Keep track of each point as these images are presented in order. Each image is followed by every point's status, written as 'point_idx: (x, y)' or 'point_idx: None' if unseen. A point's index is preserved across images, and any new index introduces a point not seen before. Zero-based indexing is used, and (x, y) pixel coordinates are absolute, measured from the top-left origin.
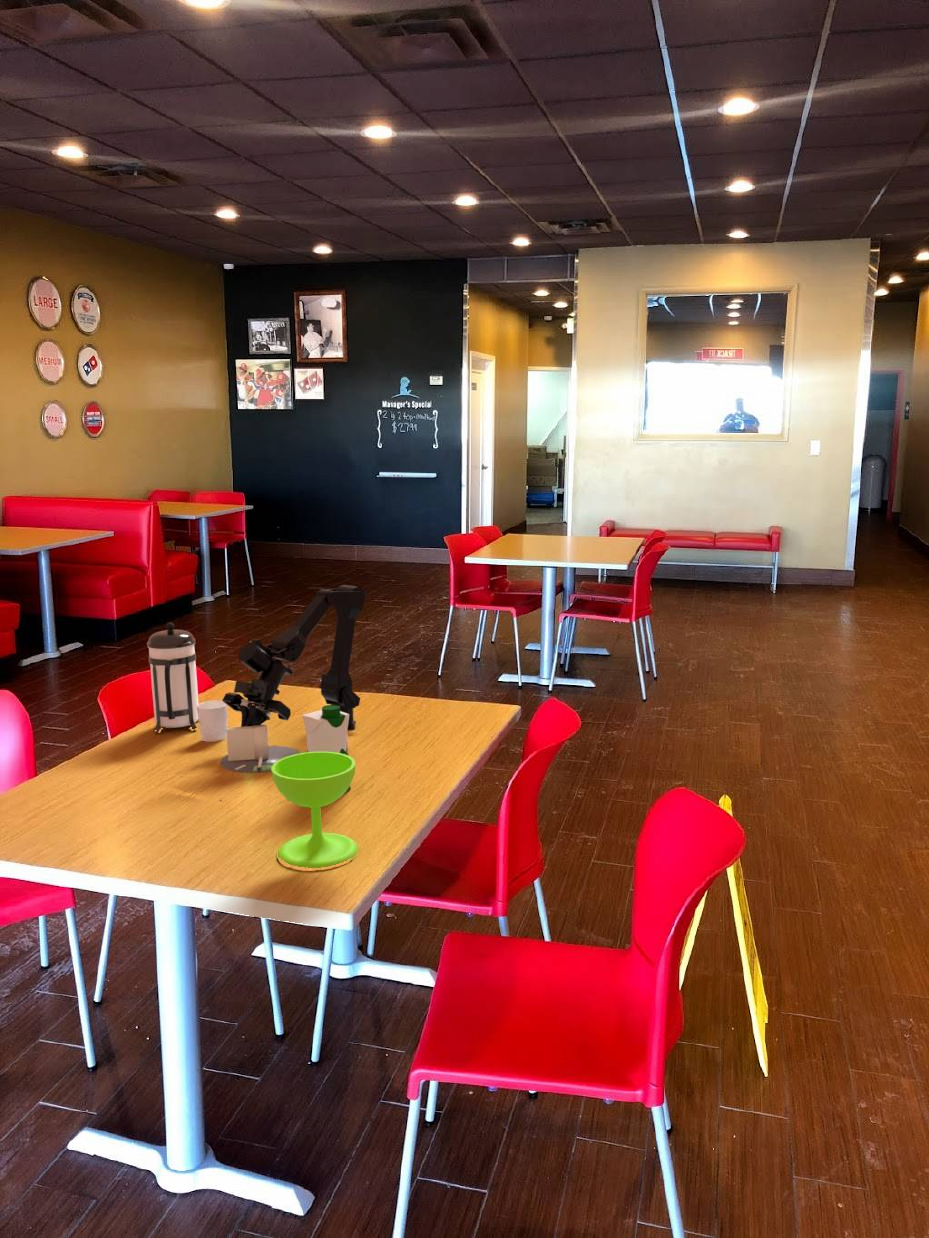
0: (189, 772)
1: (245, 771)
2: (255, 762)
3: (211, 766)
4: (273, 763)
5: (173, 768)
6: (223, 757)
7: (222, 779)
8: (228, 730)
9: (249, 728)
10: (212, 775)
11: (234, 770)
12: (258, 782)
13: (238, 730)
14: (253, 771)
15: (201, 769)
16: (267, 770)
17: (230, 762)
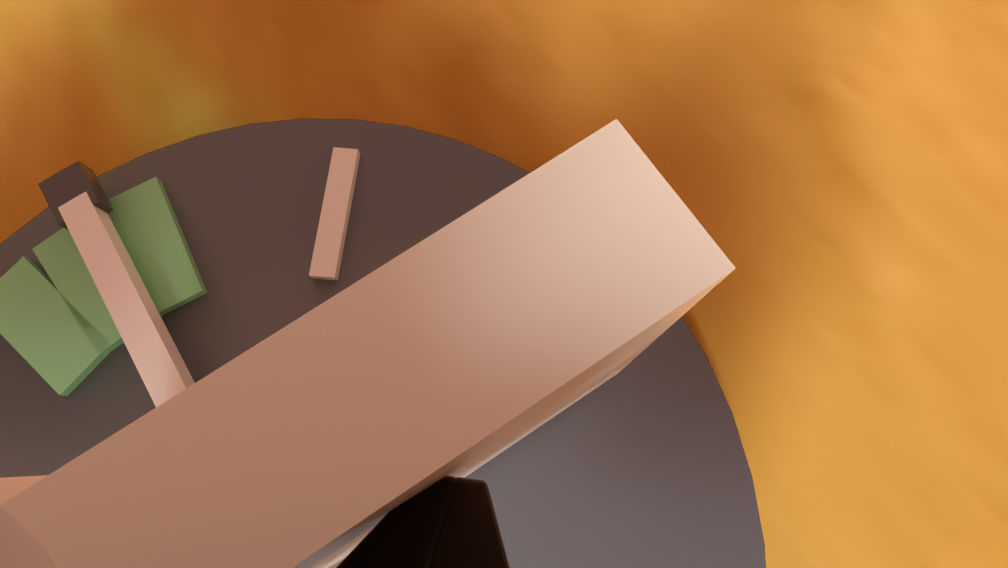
0: (773, 25)
1: (230, 155)
2: None
3: (705, 221)
4: (63, 464)
5: (998, 44)
6: (731, 413)
7: (377, 10)
8: (569, 150)
9: (95, 453)
10: (523, 46)
11: (349, 136)
12: (41, 70)
13: (364, 289)
14: (154, 183)
15: (732, 121)
16: (30, 257)
17: None
